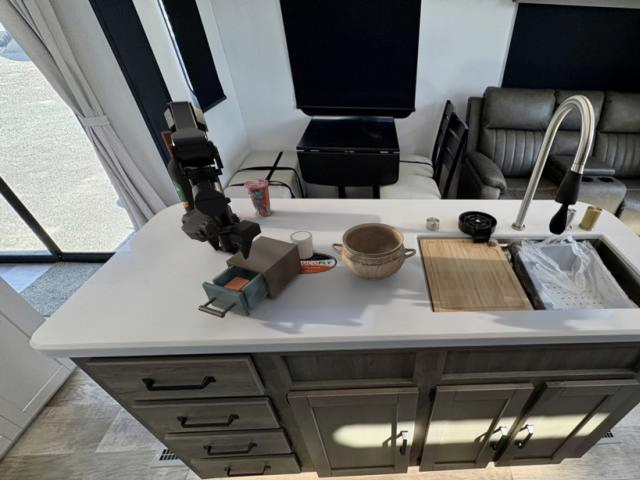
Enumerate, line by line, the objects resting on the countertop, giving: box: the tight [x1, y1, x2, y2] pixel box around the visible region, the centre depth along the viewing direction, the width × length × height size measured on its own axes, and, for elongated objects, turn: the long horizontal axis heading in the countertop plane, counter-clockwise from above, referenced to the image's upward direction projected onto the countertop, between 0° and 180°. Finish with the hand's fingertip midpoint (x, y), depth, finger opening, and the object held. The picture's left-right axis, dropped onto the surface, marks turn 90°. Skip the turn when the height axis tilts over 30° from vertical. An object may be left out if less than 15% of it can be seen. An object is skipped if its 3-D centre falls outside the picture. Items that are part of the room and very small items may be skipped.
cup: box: [243, 178, 272, 217], centre depth 122 cm, size 9×8×12 cm
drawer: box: [197, 265, 269, 319], centre depth 84 cm, size 18×11×7 cm, turn 159°
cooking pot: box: [330, 222, 417, 281], centre depth 96 cm, size 25×19×12 cm
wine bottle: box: [160, 130, 195, 214], centre depth 112 cm, size 8×8×30 cm
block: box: [224, 277, 250, 301], centre depth 85 cm, size 4×4×4 cm
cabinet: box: [225, 235, 303, 300], centre depth 93 cm, size 15×13×9 cm
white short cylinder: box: [289, 230, 314, 260], centre depth 104 cm, size 7×7×7 cm
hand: (232, 254), depth 83 cm, fingers open, 9 cm apart
